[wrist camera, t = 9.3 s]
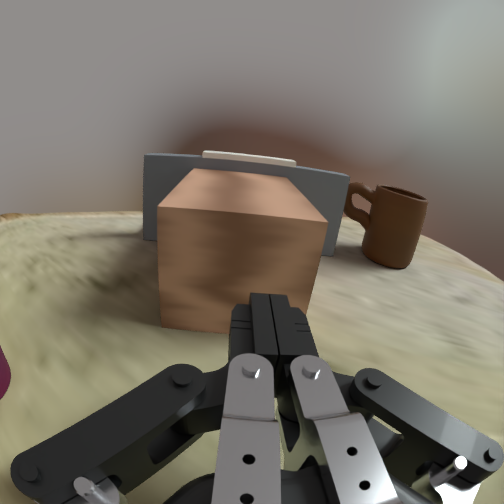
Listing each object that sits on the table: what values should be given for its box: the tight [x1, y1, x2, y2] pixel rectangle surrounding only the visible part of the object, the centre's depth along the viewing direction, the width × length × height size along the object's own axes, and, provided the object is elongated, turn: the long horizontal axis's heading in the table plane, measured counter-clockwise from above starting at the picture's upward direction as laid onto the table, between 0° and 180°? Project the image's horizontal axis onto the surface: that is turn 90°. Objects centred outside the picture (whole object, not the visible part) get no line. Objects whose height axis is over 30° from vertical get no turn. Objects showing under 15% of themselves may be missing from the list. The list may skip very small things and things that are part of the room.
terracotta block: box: [157, 168, 328, 334], centre depth 25 cm, size 10×15×9 cm, turn 3°
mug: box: [343, 182, 428, 268], centre depth 35 cm, size 12×8×9 cm, turn 75°
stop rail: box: [143, 151, 350, 256], centre depth 34 cm, size 23×7×11 cm, turn 93°
